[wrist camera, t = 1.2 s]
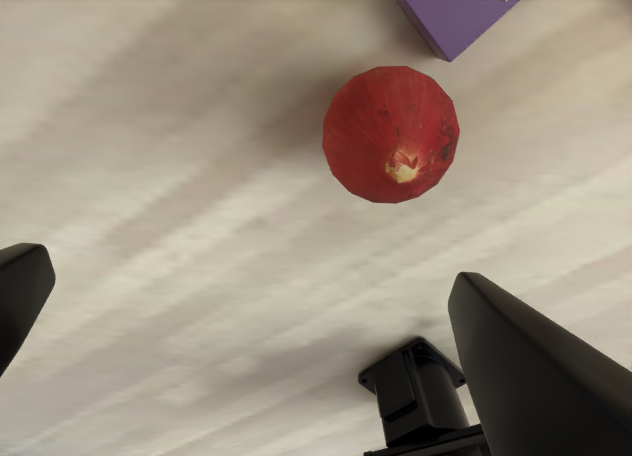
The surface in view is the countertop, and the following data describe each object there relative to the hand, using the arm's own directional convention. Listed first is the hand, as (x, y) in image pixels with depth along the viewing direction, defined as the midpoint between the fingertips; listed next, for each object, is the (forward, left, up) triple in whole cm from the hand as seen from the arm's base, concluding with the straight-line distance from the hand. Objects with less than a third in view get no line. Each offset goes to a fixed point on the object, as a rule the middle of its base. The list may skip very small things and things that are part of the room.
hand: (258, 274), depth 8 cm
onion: (-3, -3, -14) cm, 14 cm away
